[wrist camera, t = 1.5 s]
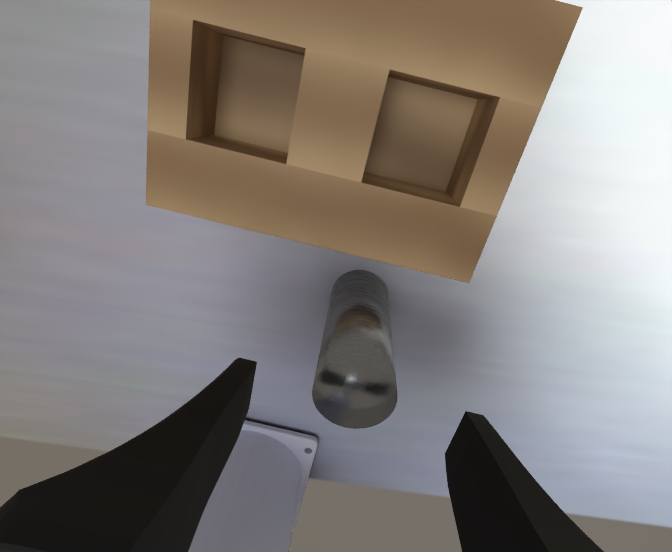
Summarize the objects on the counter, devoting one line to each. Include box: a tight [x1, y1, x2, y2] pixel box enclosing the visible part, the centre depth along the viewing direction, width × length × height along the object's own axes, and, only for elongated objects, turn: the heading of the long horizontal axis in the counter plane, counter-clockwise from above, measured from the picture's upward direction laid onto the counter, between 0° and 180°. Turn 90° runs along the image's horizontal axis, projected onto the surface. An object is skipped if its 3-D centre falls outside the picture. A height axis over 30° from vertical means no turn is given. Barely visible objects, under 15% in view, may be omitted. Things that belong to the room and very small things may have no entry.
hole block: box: [146, 0, 583, 283], centre depth 16 cm, size 10×14×4 cm
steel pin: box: [312, 270, 397, 428], centre depth 17 cm, size 3×3×8 cm
